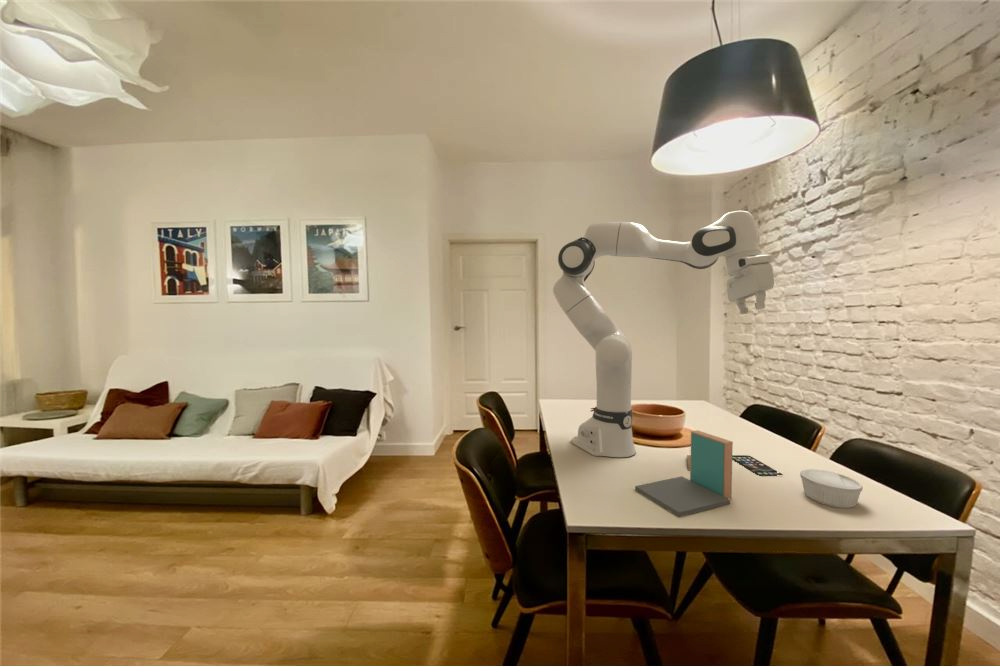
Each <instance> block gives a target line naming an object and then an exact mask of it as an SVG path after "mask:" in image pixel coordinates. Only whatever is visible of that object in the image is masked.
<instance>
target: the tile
mask: <svg viewBox="0 0 1000 667" xmlns="http://www.w3.org/2000/svg"><path fill="white" fill-rule="evenodd" d="M733 444H734V442H733V441H732V440H728V439H725V438H722V437H719V436H716V435H714V434H710V433H707V432H704V431H701V430H692V431H690V455H691V462H690V471H689V480H690V481H692V482H695V483H697V484H699V485H701V486H703V487H705V488H707V489H709V490H711V491H713V492H715V493H717V494H719V495H721V496H724V497H726V498H728V499H731V498H732V490H733V489H732V487H733V486H732V484H733V482H732V481H733V480H732V479H733V460H732V455H733V447H734V446H733Z"/></svg>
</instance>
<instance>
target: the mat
mask: <svg viewBox="0 0 1000 667" xmlns="http://www.w3.org/2000/svg"><path fill="white" fill-rule="evenodd" d="M634 490H635V491H637V492H638V493H639V492H640V493H639V494H641V493H642V494H641V495H643V496H644V495H645V496H644V497H646V498H647V499H649V498H650V500H651V501H652V500H653V501H652V502H654V503H656V504H657V503H658V504H657V505H658V506H661V507H662V506H663V507H662V508H664V509H666V510H668V511H669V512H670V511H671V512H670V513H672V514H674V515H675V516H677V517H679V518H680V517H684V516H688V515H692V514H696V513H699V512H704V511H707V510H712V509H715V508H719V507H724V506H726V505H730V504H731V498H726V497H724V496H721V495H719V494H717V493H715V492H713V491H711V490H709V489H707V488H705V487H703V486H701V485H699V484H697V483H695V482H692V481H690V479H689V478H686V477H684V476H677V477H671V478H669V479H663V480H658V481H654V482H653V481H652V482H649V483H644V484H638V485H635V486H634Z"/></svg>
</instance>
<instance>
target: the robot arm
mask: <svg viewBox="0 0 1000 667" xmlns="http://www.w3.org/2000/svg"><path fill="white" fill-rule="evenodd" d="M759 238H760V237H759V232H758V226H757V223H756V221H755V218H754V215H752V213H751V212H749V211H746V210H734V211H730V212H727V213H725V214H723V216H722V217H721V218H719V219H718V220H716V221H715V222H713V223H712V224H709V225H708V226H705V227H701V228H699V229H698V230H697V231H696V232H694V234H693V235H692V237H691V239H690V241H686V242H683V241H675V240H674V241H673V240H666V239H659V238H656V237H655V236H653V235H652V234H651V233H650V231H648V229H647V228H646V227H645V226H644V225H642V224H640V223H637V222H631V221H604V222H603V221H602V222H594V223H592V224H590V225H589V226H588V227H587V229H586V230H585V233H584V237H583V236H582V237H579V238H577V239H575V240H573V241H571V242H570V241H569V242H568V243H566V244H565V245H564V246H562V248H561V249H560V250H559V253H558V255H557V262H558V266H559V268H560V269H561V270H562V276H561V277H560V278H559V279H557V281H556V282H555V283H554V285H553V288H552V293H553V295H554V298H555V299H556V301H557V303H558V304H559V307H560V308H561V310H562V311H563V312H564V314H565V315H566V316H567V318H568V319H569V321H570V322H571V323H572V325H573V326H574V328H575V329H576V330H577V331H578V332H579V334H580V335H581V336H582V337H583V338H584V339H585V340H586V342H587V343H588V344H589V345H590V347H592V348H593V349H594V351H595V377H596V380H595V381H596V406H595V407H591V408H590V412H593V413H592V417H590V418H587V420H586V421H584V422H582V423H581V424H580V425H579V426H578V430H577V435H576V436H573V437H572V438H571V439H570V443H572V444H574V445H575V446H577V447H578V448H580V449H582V450H583V451H585V452H587V453H588V454H590V455H592V456H595V457H607V458H609V457H610V458H628V457H633V456H634V455H635V454H636V451H637V450H636V448H635V444H634V438H633V429H632V424H633V409H632V366H633V364H632V360H633V356H632V354H633V353H632V352H633V350H632V346H631V342H630V341H629V340H628V338H627V337H626V335H625V334H624V333H623V332H622V330H621V329H620V328H619V326H617V324H616V323H615V322H614V320H613V319H612V318H611V317H610V315H609V314H608V313H607V311H605V309H604V308H603V306H602V305H601V304H600V303H599V301H598V300H597V299H596V298H595V296H594V295H593V294H592V292H591V291H590V290H589V288H588V287H587V285H586V283H585V281H586V280H587V279H588V278H589V276H590V275H591V274H592V272H593V270H594V268H595V263H596V262H595V260H596V259H598V258H599V257H604V256H605V257H606V256H612V257H619V258H620V257H621V258H625V257H626V258H649V259H655V260H664V261H672V262H679V263H681V264H684V265H686V266H688V267H691V268H693V269H697V270H705V269H708V268H711V267H712V266H713V265H714V264H716V263H717V261H718V259H719V257H720V258H721V257H725V264H726V268H727V274H728V275H729V278H727V281H726V292H727V299H728V301H729V302H730V303H735V304H736V306H737V308H738V310H739V314H740V315H747V314H749V307H747V306H746V301H747V300H746V299H749V298H752V297H755V298H756V299H755V303H754V308H755V309H756V310H762V309H765V308H766V304H765V301H766V296H767V294H766V292H767V291H770V290H772V289H773V288H774V286H775V276H774V275H775V274H774V268H773V265H772V262H773V256H772V255H771V254H762V249H761V248H760V246H759Z"/></svg>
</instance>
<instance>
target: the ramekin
mask: <svg viewBox="0 0 1000 667" xmlns="http://www.w3.org/2000/svg"><path fill="white" fill-rule="evenodd" d="M799 476H800V478H801V483H802V488H803V492H804V494H805V495H806V496H807V497H808V498H809V499H811V500H813V501H815V502H818V503H819V504H823V505H826V506H828V507H834V508H838V507H839V509H852V508H854V507H855V506H856V505H857V504H858V501H859V499H860V495H861V493H862V491H863V485H862V484H861V483H860V482H859V481H858V480H856V479H854V478H851V477H849V476H846V475H845V474H841V473H839V472H838V473H837V472H835V471H831V470H830V471H829V470H823V469H815V468H814V469H812V468H811V469H809V468H808V469H803V470H800V474H799Z"/></svg>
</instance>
